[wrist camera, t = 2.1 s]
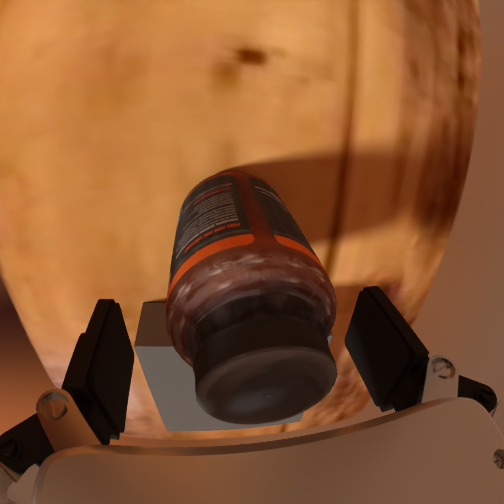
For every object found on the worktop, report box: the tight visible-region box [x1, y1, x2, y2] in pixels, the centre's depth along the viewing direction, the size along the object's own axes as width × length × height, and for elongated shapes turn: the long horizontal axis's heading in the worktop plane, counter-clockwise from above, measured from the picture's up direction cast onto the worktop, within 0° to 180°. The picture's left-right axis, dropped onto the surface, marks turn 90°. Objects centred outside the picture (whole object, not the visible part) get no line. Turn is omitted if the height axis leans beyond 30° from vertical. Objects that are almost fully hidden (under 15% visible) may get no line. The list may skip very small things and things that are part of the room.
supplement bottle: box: [166, 172, 337, 425], centre depth 12 cm, size 6×6×11 cm
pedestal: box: [134, 302, 333, 431], centre depth 21 cm, size 12×12×4 cm
